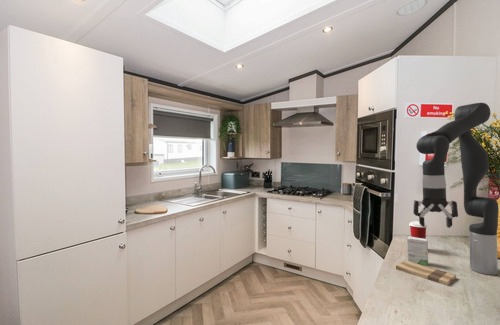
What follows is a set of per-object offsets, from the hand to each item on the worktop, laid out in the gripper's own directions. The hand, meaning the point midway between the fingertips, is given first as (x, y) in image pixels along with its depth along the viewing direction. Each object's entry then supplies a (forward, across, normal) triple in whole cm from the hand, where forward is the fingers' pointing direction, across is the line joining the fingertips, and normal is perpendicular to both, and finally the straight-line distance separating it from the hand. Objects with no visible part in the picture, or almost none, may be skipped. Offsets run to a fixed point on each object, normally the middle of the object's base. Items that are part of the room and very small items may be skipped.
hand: (435, 226), depth 101 cm
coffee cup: (+25, -2, -45) cm, 52 cm away
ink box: (+25, +2, -25) cm, 35 cm away
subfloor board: (+25, +2, -12) cm, 27 cm away
